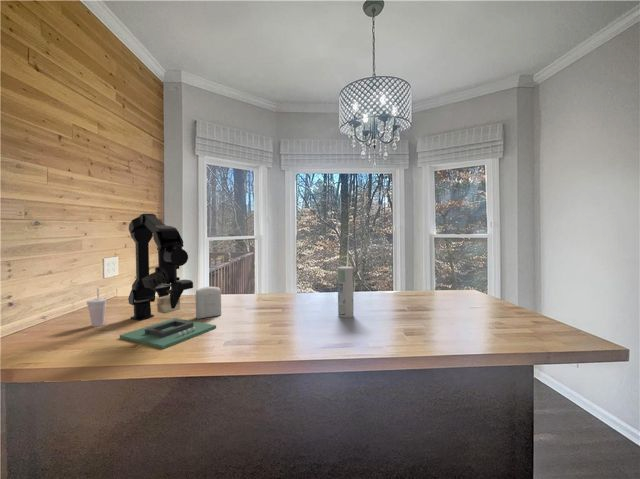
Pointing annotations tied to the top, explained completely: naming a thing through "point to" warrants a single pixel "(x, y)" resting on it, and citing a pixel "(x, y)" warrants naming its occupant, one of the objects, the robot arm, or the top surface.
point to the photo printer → (208, 302)
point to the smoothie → (97, 310)
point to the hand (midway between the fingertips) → (169, 307)
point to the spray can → (345, 291)
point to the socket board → (168, 332)
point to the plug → (166, 305)
